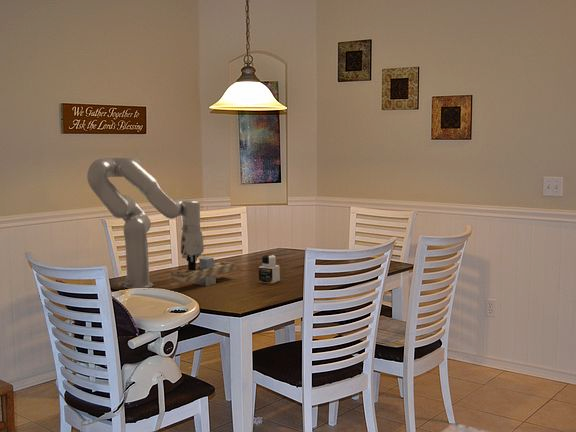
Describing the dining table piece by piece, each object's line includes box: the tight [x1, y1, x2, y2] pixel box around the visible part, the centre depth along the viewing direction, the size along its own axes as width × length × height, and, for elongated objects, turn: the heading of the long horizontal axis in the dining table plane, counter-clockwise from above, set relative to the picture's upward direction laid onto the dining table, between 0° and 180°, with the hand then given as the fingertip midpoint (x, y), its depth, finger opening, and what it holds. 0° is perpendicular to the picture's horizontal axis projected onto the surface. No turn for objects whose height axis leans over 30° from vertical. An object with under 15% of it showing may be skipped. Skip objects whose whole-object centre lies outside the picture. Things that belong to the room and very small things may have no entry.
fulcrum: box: [193, 275, 217, 287], centre depth 318 cm, size 6×8×4 cm
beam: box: [170, 261, 237, 283], centre depth 318 cm, size 32×8×4 cm, turn 141°
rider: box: [198, 256, 215, 270], centre depth 318 cm, size 4×4×5 cm
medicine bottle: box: [258, 254, 281, 284], centre depth 320 cm, size 7×7×12 cm
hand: (192, 269), depth 312 cm, fingers closed
